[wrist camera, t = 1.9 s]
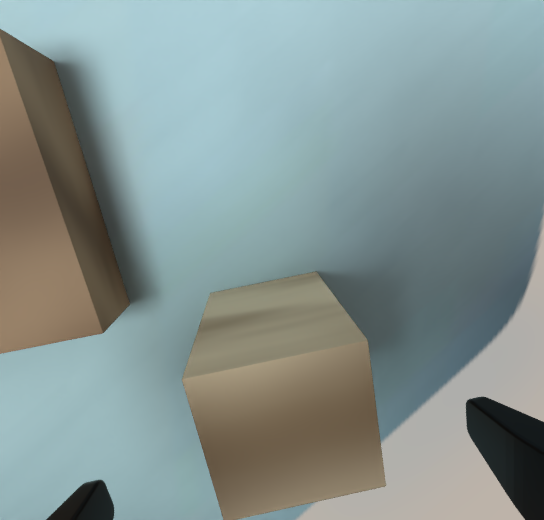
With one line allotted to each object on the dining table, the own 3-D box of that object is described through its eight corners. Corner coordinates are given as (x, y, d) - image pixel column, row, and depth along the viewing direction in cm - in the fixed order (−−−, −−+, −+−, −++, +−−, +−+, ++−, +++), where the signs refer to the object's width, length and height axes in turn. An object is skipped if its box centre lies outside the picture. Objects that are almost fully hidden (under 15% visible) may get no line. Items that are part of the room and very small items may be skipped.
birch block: (330, 364, 15) (385, 486, 9) (233, 385, 15) (224, 522, 9) (315, 271, 14) (367, 340, 8) (210, 293, 13) (181, 379, 8)
